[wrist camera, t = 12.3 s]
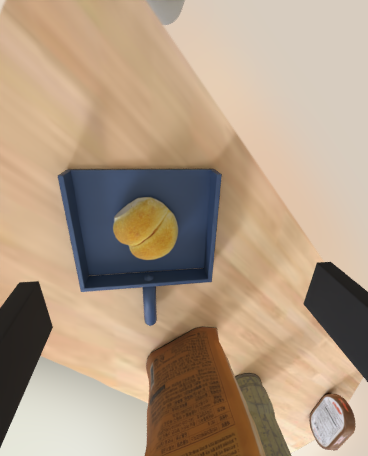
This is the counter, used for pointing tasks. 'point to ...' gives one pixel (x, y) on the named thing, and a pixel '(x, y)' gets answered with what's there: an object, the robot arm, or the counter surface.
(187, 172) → the scoop
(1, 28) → the counter surface
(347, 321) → the robot arm
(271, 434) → the thermos
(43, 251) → the counter surface
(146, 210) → the bread roll
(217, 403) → the pancake mix bag
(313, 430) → the tin
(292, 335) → the counter surface
